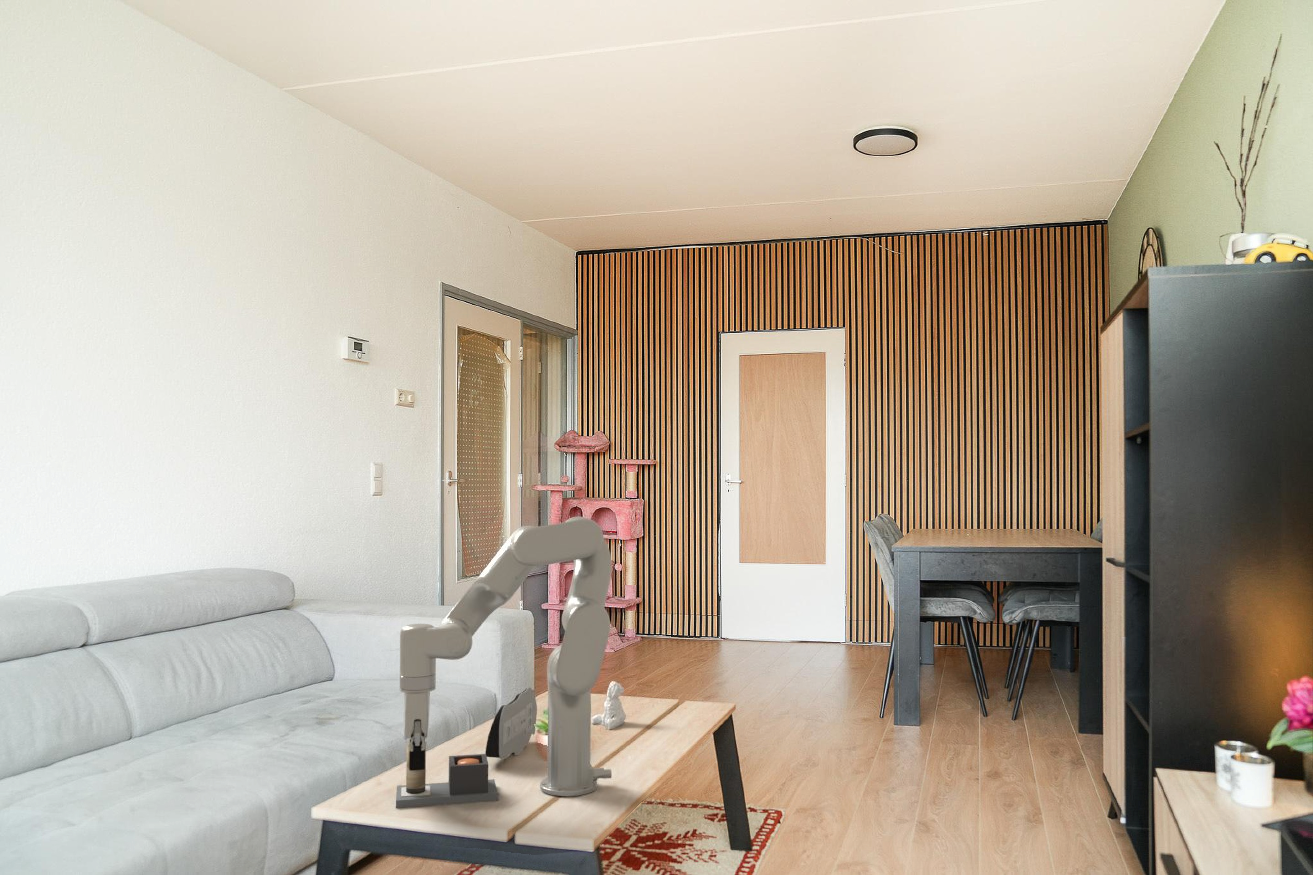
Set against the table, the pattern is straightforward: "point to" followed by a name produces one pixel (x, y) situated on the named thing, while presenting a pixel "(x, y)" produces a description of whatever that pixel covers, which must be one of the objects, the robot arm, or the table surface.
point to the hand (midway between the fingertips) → (417, 763)
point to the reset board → (454, 786)
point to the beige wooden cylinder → (415, 776)
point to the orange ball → (468, 761)
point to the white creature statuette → (611, 709)
